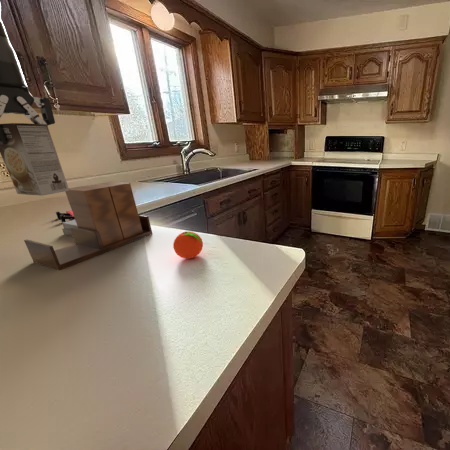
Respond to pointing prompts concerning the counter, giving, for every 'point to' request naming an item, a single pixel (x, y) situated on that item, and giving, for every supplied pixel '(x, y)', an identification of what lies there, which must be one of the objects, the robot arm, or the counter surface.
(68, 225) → the grey book pile
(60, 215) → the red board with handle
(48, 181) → the coffee box
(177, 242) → the clementine
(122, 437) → the counter surface
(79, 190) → the book rack
